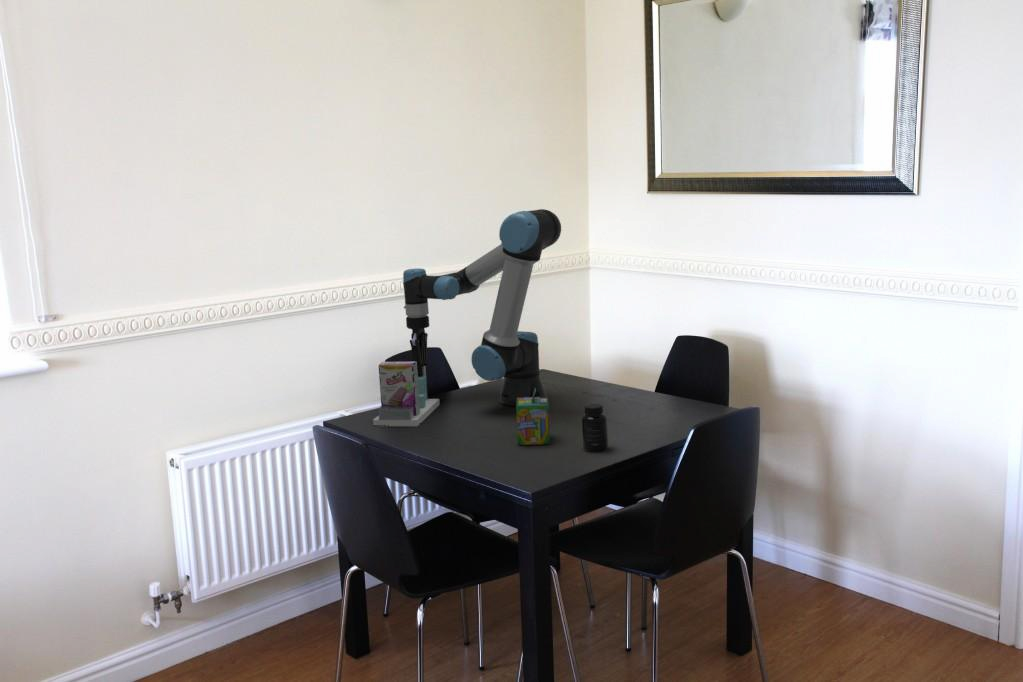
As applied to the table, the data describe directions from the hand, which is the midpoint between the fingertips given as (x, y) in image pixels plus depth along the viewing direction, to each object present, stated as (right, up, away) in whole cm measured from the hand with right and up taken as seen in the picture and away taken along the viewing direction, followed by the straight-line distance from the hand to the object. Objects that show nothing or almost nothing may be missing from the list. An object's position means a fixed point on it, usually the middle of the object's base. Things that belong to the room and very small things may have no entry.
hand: (422, 385), depth 311 cm
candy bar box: (-4, -8, -23) cm, 24 cm away
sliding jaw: (-2, -5, -10) cm, 11 cm away
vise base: (-3, -9, -16) cm, 18 cm away
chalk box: (+36, -13, -50) cm, 63 cm away
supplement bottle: (+53, -14, -60) cm, 81 cm away
